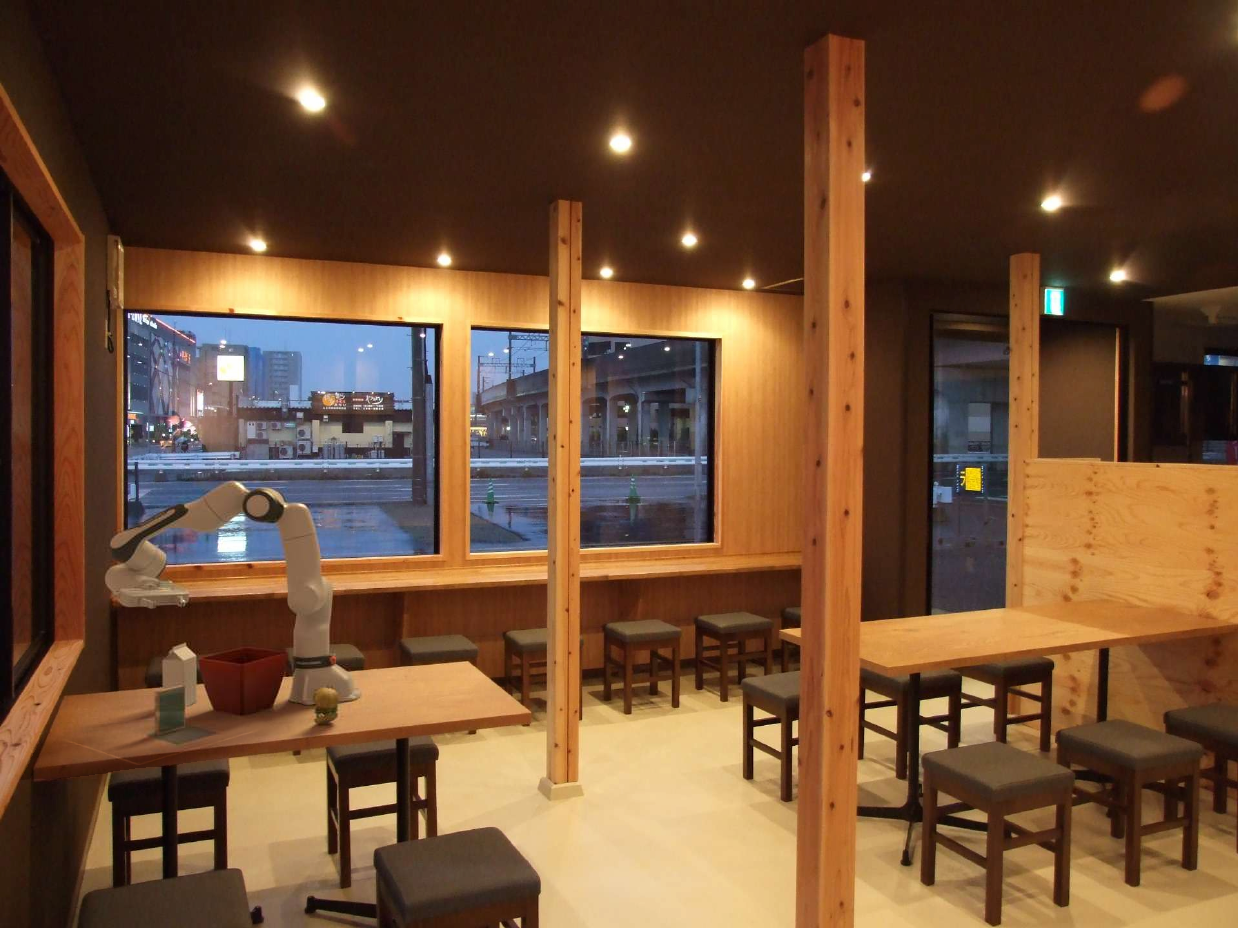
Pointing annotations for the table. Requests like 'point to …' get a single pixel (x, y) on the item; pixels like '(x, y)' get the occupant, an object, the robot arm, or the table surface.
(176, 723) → the picture frame
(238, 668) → the plant pot
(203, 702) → the table surface
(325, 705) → the hamburger
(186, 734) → the mat
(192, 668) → the milk carton
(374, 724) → the table surface
